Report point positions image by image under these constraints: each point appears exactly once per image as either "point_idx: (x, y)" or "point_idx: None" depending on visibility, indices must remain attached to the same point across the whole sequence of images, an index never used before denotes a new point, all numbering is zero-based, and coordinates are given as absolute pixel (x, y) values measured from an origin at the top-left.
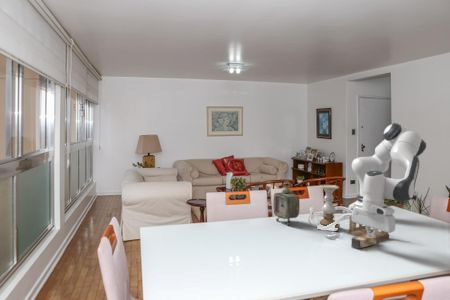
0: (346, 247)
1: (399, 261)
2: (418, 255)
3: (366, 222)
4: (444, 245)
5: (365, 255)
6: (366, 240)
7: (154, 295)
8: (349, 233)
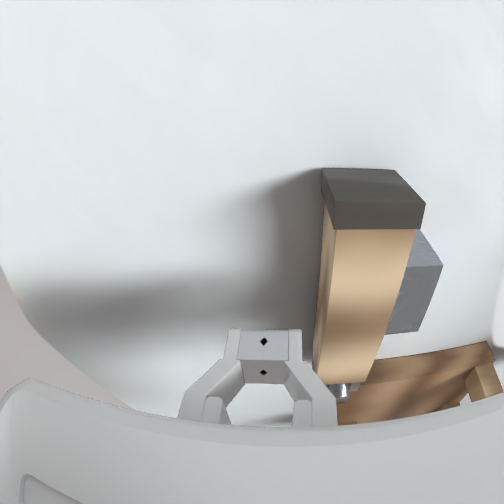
0: (411, 128)
1: (59, 238)
2: (124, 359)
3: (306, 479)
4: None
5: (189, 111)
6: (325, 301)
7: None
8: (482, 343)
